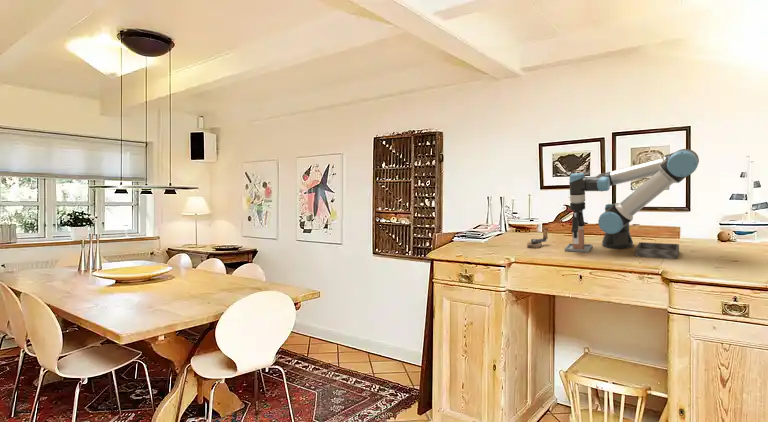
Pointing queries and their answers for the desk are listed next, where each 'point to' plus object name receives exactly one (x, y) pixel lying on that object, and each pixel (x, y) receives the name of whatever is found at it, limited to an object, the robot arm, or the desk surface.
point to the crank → (543, 237)
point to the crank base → (534, 245)
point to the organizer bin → (657, 250)
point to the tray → (586, 249)
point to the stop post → (581, 240)
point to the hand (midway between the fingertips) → (578, 240)
